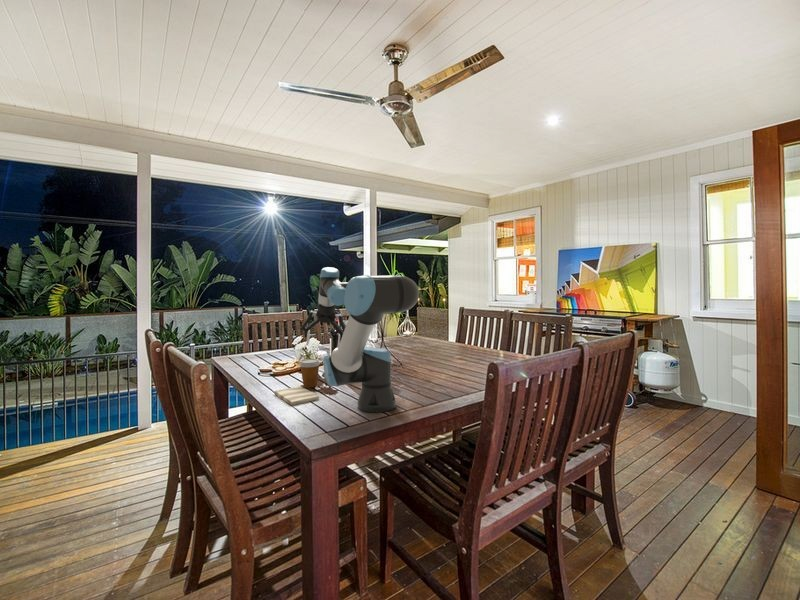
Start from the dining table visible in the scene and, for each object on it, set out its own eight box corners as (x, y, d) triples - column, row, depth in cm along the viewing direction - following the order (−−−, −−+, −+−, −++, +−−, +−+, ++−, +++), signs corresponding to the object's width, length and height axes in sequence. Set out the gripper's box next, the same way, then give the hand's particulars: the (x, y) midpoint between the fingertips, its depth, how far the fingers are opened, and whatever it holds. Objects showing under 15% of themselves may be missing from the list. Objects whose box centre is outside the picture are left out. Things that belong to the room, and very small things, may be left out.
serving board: (319, 399, 160) (318, 395, 160) (291, 405, 153) (291, 401, 153) (300, 389, 175) (300, 386, 175) (274, 394, 168) (274, 391, 168)
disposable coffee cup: (313, 389, 175) (313, 363, 174) (295, 387, 178) (295, 362, 177) (324, 383, 184) (323, 359, 183) (307, 382, 187) (306, 358, 186)
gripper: (356, 302, 167) (351, 344, 175) (299, 295, 164) (296, 337, 173) (355, 310, 160) (350, 353, 169) (295, 302, 157) (293, 346, 166)
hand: (323, 345), depth 171 cm, fingers open, 13 cm apart
